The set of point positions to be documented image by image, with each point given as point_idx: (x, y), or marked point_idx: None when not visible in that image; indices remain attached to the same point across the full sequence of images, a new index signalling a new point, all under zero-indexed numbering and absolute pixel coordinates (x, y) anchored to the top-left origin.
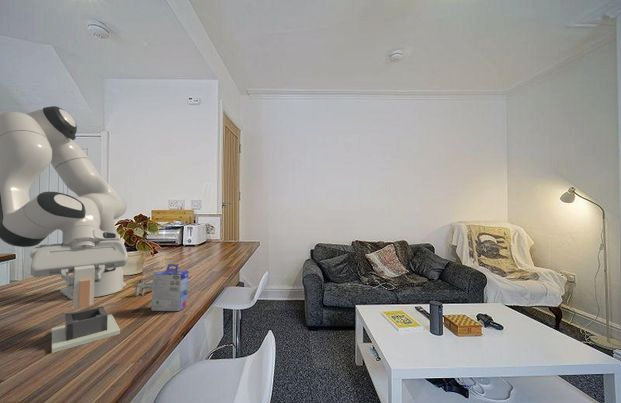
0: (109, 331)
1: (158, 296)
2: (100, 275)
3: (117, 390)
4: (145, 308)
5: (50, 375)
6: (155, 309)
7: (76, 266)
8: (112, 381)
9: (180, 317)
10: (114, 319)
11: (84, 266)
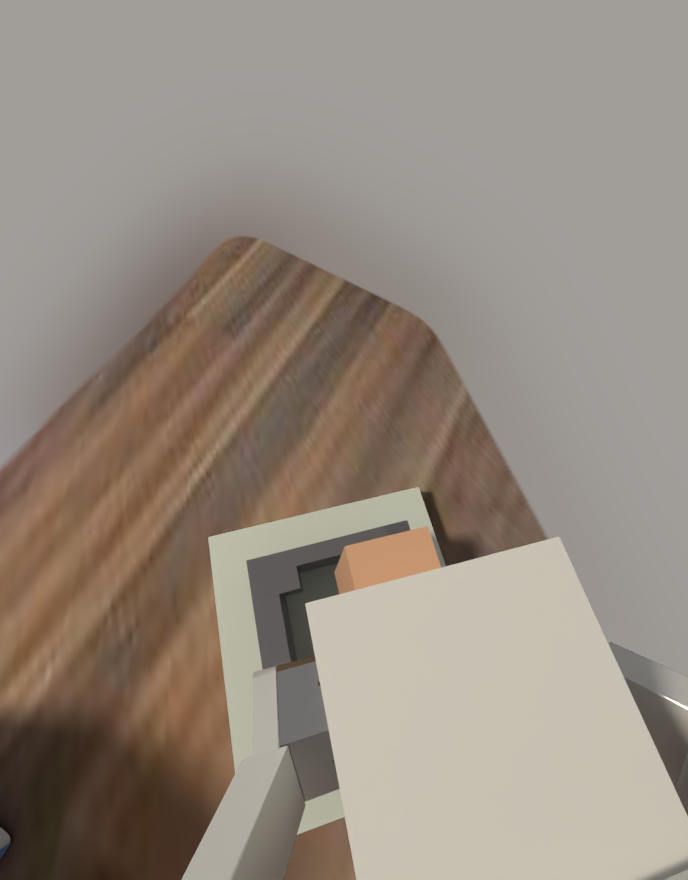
0: (249, 544)
1: None
2: (253, 715)
3: (228, 240)
4: None
5: (372, 359)
6: None
7: (682, 874)
8: (237, 271)
9: None
10: (229, 716)
11: (525, 847)
